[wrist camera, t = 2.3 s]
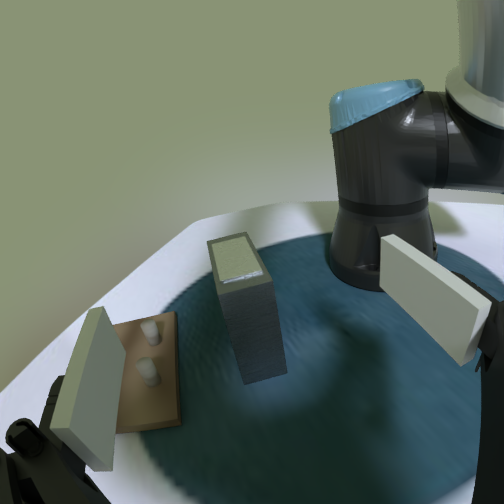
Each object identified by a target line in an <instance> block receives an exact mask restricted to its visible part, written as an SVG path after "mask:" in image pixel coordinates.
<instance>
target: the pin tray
mask: <svg viewBox="0 0 504 504" xmlns="http://www.w3.org/2000/svg"><path fill="white" fill-rule="evenodd" d="M113 327H114V329H115V331H116V333H117V335H118V337H119V339H120V341H121V343H122V345H123V347H124V349H125V351H126V356H125V362H124V368H123V375H122V382H121V389H120V396H119V404H118V413H117V422H116V432H115V434H118V433H128V432H137V431H145V430H153V429H160V428H166V427H173V426H179V425H182V424H181V411H180V394H179V375H178V348H177V316H176V314H175V311H172V312H168V313H164V314H159V315H155V316H151V317H146V318H142V319H138V320H133V321H129V322H124V323H120V324H115V325H113Z"/></svg>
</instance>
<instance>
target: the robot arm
mask: <svg viewBox="0 0 504 504" xmlns="http://www.w3.org/2000/svg"><path fill="white" fill-rule="evenodd" d="M457 8H458V23H459V50H460V51H459V52H460V53H459V54H460V62H459V66H457V67H455V68H454V69H452V70H451V71H450V72H449V73H448V74H447V77H446V92H430V91H423V90H424V85H423V84H422V82H421V81H420V80H418V79H409V80H398V81H390V82H383V83H377V84H371V85H365V86H360V87H356V88H351V89H347V90H343V91H340V92H338V93H336V94H335V95H334V96H333V97H332V98H331V100H330V103H329V110H330V122H331V129H330V134H332V141H333V149H334V157H335V166H336V175H337V186H338V197H339V212H338V216H337V219H336V223H335V227H334V231H333V234H332V238H331V242H330V246H329V260H330V267H331V270H332V271H333V273H334V274H335V275H336V276H337V277H338V278H339V279H341V280H342V281H344V282H346V283H348V284H350V285H352V286H355V287H358V288H362V289H366V290H372V291H385V292H386V293H387V294H388V295H390V296H391V297H392V298H393V299H394V300H395V301H396V302H397V303H398V304H399V305H400V306H401V307H402V308H403V309H404V310H405V311H406V312H407V313H408V314H409V315H410V316H411V317H412V318H413V319H414V320H415V321H416V322H417V323H418V324H419V325H420V326H421V327H422V328H424V329H425V330H426V331H427V332H428V333H429V334H430V336H431V337H432V338H433V339H434V340H435V341H436V342H437V343H438V344H439V345H440V346H441V347H442V348H443V349H444V350H445V351H446V352H447V353H448V354H449V355H450V356H451V357H452V358H453V359H454V360H455V361H456V362H457V363H458V364H459V365H460V366H462V365H464V364H466V363H467V362H469V361H470V360H472V359H473V358H474V355H475V353H476V350H477V347H478V348H479V349H480V350H481V351H482V353H481V356H480V359H479V361H478V364H477V366H476V369H475V372H477V371H478V369H479V367H480V366H481V431H480V445H479V456H478V465H477V473H476V480H475V486H474V492H473V498H472V503H471V504H504V301H501V302H499V301H498V300H496V299H495V298H494V297H492V296H491V295H490V294H488V293H487V292H486V291H484V290H483V289H481V288H480V287H479V286H478V287H477V285H476V284H475V283H473V282H471V281H470V280H469V279H468V278H466V277H465V276H463V275H461V274H459V273H456V272H453V271H451V272H450V271H448V270H447V269H445V268H444V267H443V266H441V265H440V264H438V263H437V255H438V250H437V245H436V242H435V237H434V232H433V227H432V223H431V219H430V215H429V212H428V190H429V189H430V188H441V189H455V190H468V191H480V192H491V193H501V194H504V0H457ZM125 356H126V351H125V349H124V347H123V345H122V343H121V341H120V339H119V337H118V335H117V333H116V331H115V329H114V327H113V325H112V323H111V321H110V319H109V317H108V315H107V313H106V310H105V308H104V306H102V307H97V308H93V309H89V311H88V313H87V316H86V318H85V321H84V323H83V326H82V328H81V331H80V334H79V336H78V339H77V342H76V345H75V347H74V350H73V353H72V356H71V359H70V362H69V364H68V367H67V370H66V374H65V375H62V376H58V378H57V379H56V380H55V382H54V383H53V384H52V386H51V389H50V392H49V395H48V396H49V398H47V401H46V406H45V408H44V411H43V414H42V418H41V421H40V425H39V428H38V427H37V426H36V425H35V424H34V423H33V422H32V421H31V420H30V419H27V418H21V419H18V420H16V421H15V422H13V423H12V424H11V425H10V427H9V428H8V430H7V432H6V437H5V439H6V443H7V444H8V445H9V446H10V447H11V448H12V449H13V450H14V451H15V452H14V453H11V454H7V453H6V452H5V451H4V450H3V449H2V448H0V504H111V503H110V502H109V500H108V499H107V498H106V497H105V496H104V494H103V493H102V492H101V491H100V489H99V488H98V487H97V486H96V484H95V483H94V482H93V481H92V479H91V478H90V477H89V476H88V475H87V474H86V473H85V466H86V465H87V466H89V467H90V468H91V469H92V470H93V471H94V472H98V471H113V456H114V443H115V432H116V422H117V413H118V404H119V396H120V389H121V382H122V375H123V368H124V362H125Z"/></svg>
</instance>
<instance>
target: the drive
mask: <svg viewBox="0 0 504 504" xmlns="http://www.w3.org/2000/svg"><path fill="white" fill-rule="evenodd" d="M207 245H208V250H209V255H210V260H211V265H212V270H213V275H214V280H215V284H216V289H217V294H218V298H219V301H220V305H221V308H222V312H223V316H224V319H225V323H226V326H227V329H228V333H229V336H230V340H231V343H232V346H233V350H234V353H235V357H236V360H237V363H238V366H239V370H240V373H241V376H242V379H243V383H244V385H247V384H250V383H254V382H258V381H262V380H265V379H269V378H272V377H276V376H279V375H283V374H286V373H287V367H286V360H285V354H284V347H283V341H282V335H281V328H280V322H279V316H278V310H277V303H276V297H275V291H274V285H273V280H272V278H271V276H270V275H269V273H268V271H267V269H266V267H265V265H264V264H263V262H262V260H261V258H260V256H259V254H258V252H257V251H256V249H255V247H254V245H253V243H252V241H251V240H250V238H249V236H248V234H247V232H243V233H238V234H234V235H230V236H226V237H222V238H218V239H214V240H210V241H207Z"/></svg>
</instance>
